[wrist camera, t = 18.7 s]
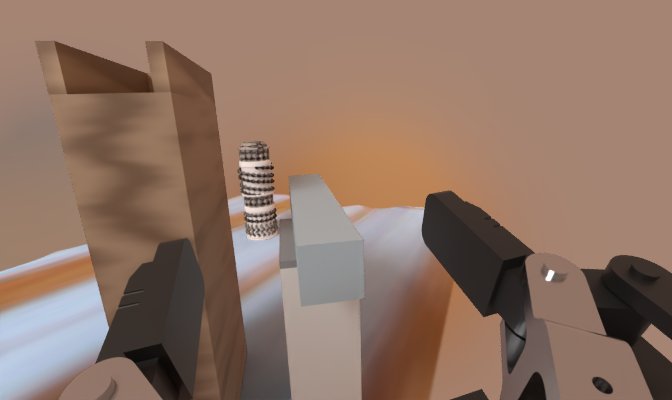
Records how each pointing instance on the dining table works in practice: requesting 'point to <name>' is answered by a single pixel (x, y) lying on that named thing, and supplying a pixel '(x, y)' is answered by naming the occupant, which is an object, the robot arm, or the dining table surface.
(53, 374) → the dining table surface
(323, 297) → the bar
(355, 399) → the block
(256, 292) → the dining table surface
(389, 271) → the dining table surface
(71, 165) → the stand
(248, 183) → the decorative candle
